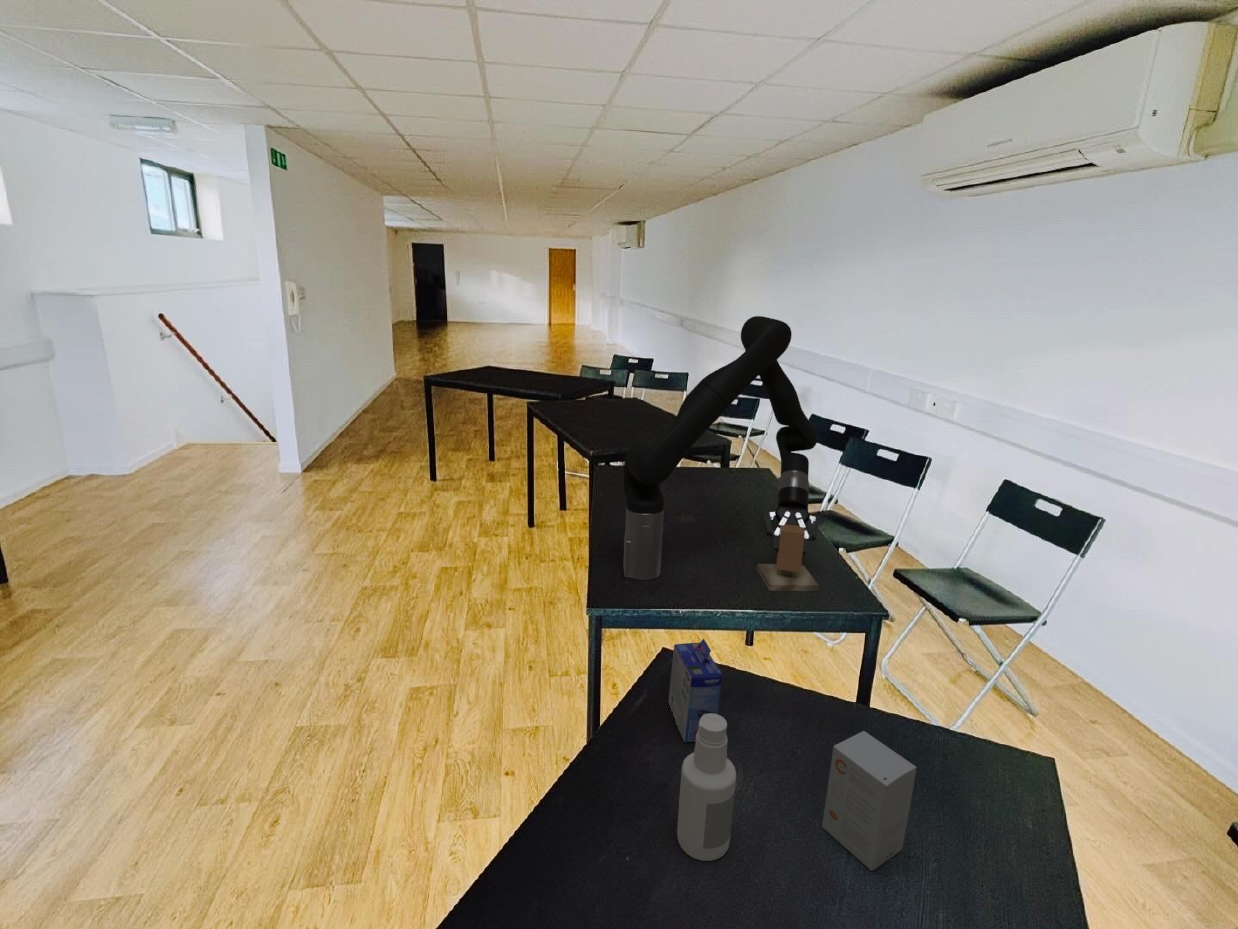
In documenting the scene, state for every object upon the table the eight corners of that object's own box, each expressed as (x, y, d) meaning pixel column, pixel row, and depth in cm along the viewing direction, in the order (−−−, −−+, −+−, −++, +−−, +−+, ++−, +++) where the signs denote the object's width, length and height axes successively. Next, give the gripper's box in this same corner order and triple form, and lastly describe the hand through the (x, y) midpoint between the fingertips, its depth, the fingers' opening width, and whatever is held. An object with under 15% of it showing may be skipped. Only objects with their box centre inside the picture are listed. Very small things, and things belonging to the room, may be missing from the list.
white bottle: (729, 867, 79) (741, 745, 74) (674, 857, 80) (683, 736, 75) (729, 823, 85) (741, 708, 80) (679, 815, 86) (687, 701, 81)
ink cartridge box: (718, 741, 100) (725, 661, 97) (684, 745, 99) (690, 664, 95) (697, 702, 110) (703, 628, 106) (667, 705, 109) (672, 630, 105)
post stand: (769, 590, 152) (772, 559, 150) (756, 569, 164) (759, 540, 161) (818, 591, 153) (822, 560, 150) (802, 569, 164) (805, 540, 162)
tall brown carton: (776, 569, 155) (780, 531, 152) (776, 560, 160) (780, 523, 158) (800, 572, 154) (804, 533, 151) (799, 562, 159) (803, 525, 156)
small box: (903, 851, 82) (919, 767, 78) (871, 873, 78) (887, 786, 75) (851, 808, 88) (863, 729, 85) (820, 827, 85) (832, 745, 82)
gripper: (765, 482, 160) (761, 544, 152) (824, 488, 158) (823, 550, 150) (763, 496, 167) (759, 555, 159) (820, 501, 164) (818, 562, 156)
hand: (790, 553), depth 154 cm, fingers closed on tall brown carton, 5 cm apart
